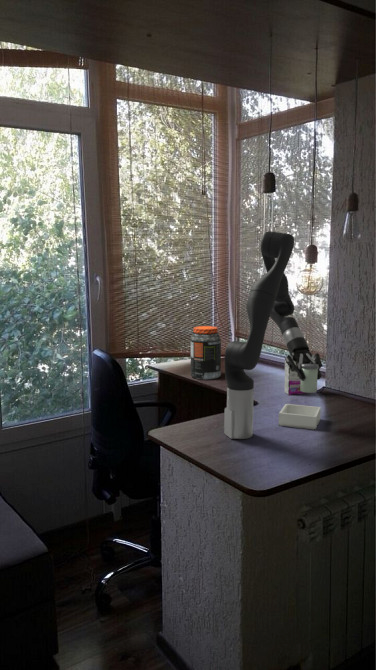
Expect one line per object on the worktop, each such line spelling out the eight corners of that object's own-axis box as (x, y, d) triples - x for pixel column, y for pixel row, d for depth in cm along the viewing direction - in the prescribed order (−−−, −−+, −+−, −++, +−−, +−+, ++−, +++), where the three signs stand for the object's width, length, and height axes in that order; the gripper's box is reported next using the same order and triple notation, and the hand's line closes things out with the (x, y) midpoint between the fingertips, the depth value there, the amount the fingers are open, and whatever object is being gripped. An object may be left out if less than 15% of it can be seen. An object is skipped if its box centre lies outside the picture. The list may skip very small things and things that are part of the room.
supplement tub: (221, 373, 291) (222, 325, 288) (220, 380, 276) (220, 329, 272) (191, 373, 293) (192, 325, 289) (188, 379, 278) (188, 329, 274)
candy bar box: (305, 391, 256) (306, 356, 253) (310, 393, 251) (311, 358, 249) (283, 392, 253) (284, 357, 250) (288, 395, 248) (289, 359, 246)
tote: (315, 429, 200) (316, 416, 199) (278, 425, 204) (278, 413, 204) (320, 419, 212) (320, 407, 212) (285, 415, 217) (285, 403, 216)
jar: (313, 393, 198) (314, 366, 197) (297, 391, 202) (298, 364, 200) (319, 390, 204) (321, 363, 202) (303, 387, 207) (304, 361, 206)
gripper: (282, 337, 204) (299, 375, 195) (315, 335, 209) (333, 372, 200) (275, 348, 210) (290, 386, 201) (307, 346, 215) (323, 383, 206)
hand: (311, 378), depth 201 cm, fingers closed on jar, 6 cm apart
